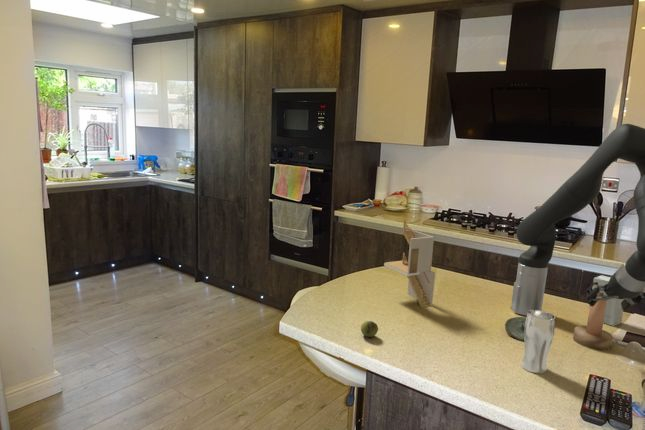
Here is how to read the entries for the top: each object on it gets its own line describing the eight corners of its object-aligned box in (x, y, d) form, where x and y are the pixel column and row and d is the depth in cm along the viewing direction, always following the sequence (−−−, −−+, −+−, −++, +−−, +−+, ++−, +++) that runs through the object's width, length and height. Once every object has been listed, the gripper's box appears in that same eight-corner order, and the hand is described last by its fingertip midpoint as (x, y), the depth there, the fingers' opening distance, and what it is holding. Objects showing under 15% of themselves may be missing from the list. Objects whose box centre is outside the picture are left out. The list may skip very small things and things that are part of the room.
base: (579, 347, 134) (581, 337, 134) (568, 333, 144) (569, 324, 143) (617, 351, 133) (618, 342, 132) (602, 337, 142) (604, 328, 142)
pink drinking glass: (588, 335, 136) (594, 296, 134) (583, 329, 140) (589, 291, 138) (604, 336, 135) (610, 298, 133) (598, 330, 139) (604, 293, 137)
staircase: (410, 311, 156) (417, 228, 151) (381, 295, 170) (387, 219, 165) (432, 307, 161) (440, 226, 156) (402, 291, 175) (409, 217, 170)
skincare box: (621, 323, 154) (629, 281, 151) (612, 327, 151) (620, 283, 148) (595, 314, 161) (602, 274, 158) (586, 317, 158) (593, 276, 155)
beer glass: (514, 361, 124) (521, 308, 121) (538, 361, 125) (546, 309, 122) (527, 374, 117) (535, 319, 114) (553, 374, 118) (562, 320, 115)
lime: (358, 335, 135) (359, 319, 134) (371, 332, 137) (372, 316, 136) (367, 341, 131) (368, 325, 130) (380, 338, 134) (381, 322, 133)
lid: (541, 333, 143) (544, 318, 142) (540, 345, 134) (542, 329, 133) (505, 325, 148) (507, 310, 147) (502, 336, 139) (504, 321, 138)
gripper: (658, 268, 119) (630, 295, 132) (599, 263, 121) (577, 290, 135) (666, 294, 115) (636, 320, 128) (605, 288, 117) (581, 314, 130)
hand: (606, 304), depth 131 cm, fingers open, 8 cm apart
